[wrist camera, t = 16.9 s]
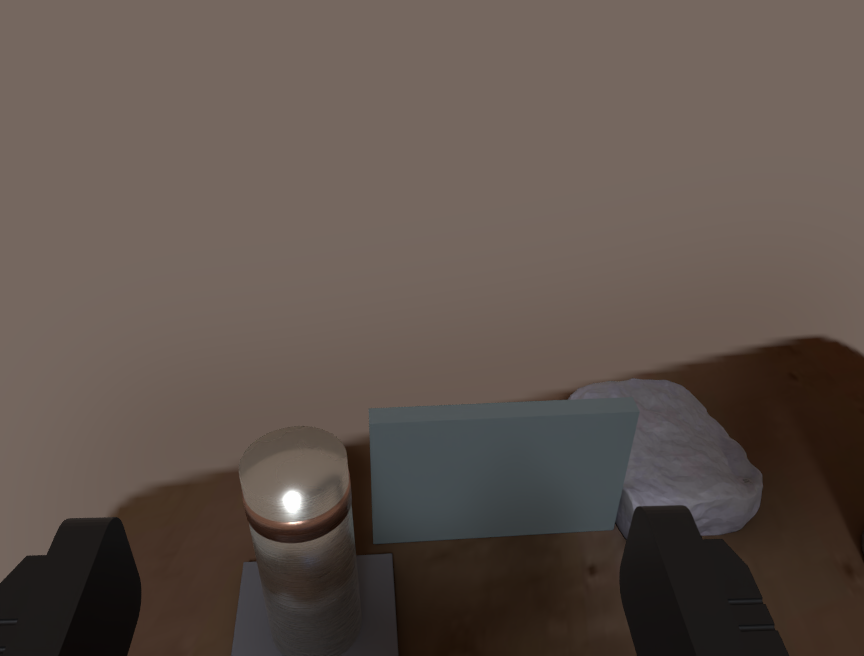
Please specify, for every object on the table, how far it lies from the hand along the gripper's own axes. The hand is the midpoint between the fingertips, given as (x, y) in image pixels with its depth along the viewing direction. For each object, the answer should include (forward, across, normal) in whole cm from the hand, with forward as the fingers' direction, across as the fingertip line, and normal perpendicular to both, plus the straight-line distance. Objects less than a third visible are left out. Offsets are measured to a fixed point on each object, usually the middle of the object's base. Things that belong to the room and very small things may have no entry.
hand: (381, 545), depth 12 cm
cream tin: (+15, +4, +24) cm, 29 cm away
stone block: (+26, -17, +26) cm, 41 cm away
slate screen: (+22, -6, +26) cm, 34 cm away
